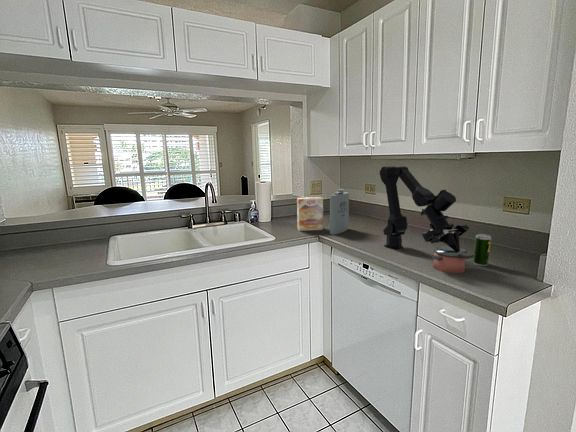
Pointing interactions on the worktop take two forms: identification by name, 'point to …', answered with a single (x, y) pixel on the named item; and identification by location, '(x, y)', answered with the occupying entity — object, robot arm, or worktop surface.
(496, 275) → the worktop surface
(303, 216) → the coffeecake box
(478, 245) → the beer can
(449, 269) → the cooker pot
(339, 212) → the flask
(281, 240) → the worktop surface
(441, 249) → the cooker lid
